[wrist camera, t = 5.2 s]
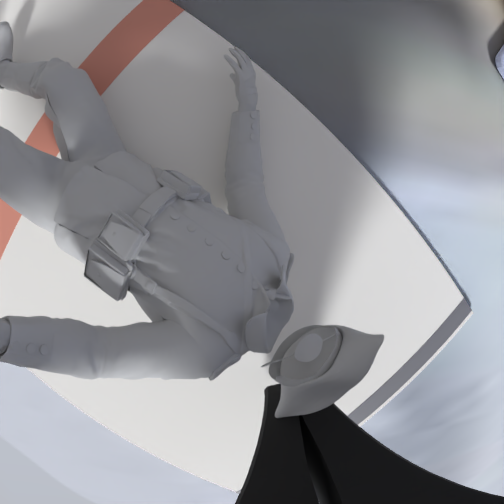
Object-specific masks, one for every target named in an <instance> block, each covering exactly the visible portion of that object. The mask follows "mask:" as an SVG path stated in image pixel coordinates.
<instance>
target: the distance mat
mask: <svg viewBox="0 0 504 504" xmlns="http://www.w3.org/2000/svg"><path fill="white" fill-rule="evenodd" d="M4 21H7V22H8V23H9V25H10V27H11V29H12V33H13V53H12V60H13V62H17V63H31V62H41V61H50V60H51V59H52V58H59V59H60V60H63V61H64V62H69V63H70V65H71V66H72V67H73V68H79V69H83V70H85V71H86V73H87V74H88V76H89V77H90V79H91V81H92V83H93V85H94V86H95V88H96V90H97V92H98V93H99V95H100V97H101V98H102V100H103V102H104V103H105V105H106V107H107V110H108V113H109V116H110V118H111V121H112V123H113V125H114V127H115V129H116V132H117V133H118V135H119V137H120V139H121V141H122V143H123V145H124V147H125V149H126V151H127V152H129V153H131V154H133V155H135V156H137V157H138V158H139V159H140V160H141V161H143V162H145V163H148V164H150V165H151V167H152V168H160V169H161V170H173V171H178V172H179V173H182V174H183V175H185V176H186V177H188V178H190V179H192V180H193V181H195V182H197V183H198V184H200V185H201V186H202V188H203V189H205V190H206V191H208V192H209V193H210V198H211V203H212V205H214V206H215V207H216V208H217V207H219V208H221V209H222V210H223V211H224V212H225V213H226V214H228V215H229V213H228V210H227V206H228V201H227V198H226V196H225V186H226V184H227V182H226V179H225V171H226V168H225V161H226V152H227V149H228V141H229V131H230V123H231V116H232V113H233V112H235V111H237V110H238V104H239V102H238V100H237V97H236V93H235V84H234V82H233V80H232V79H231V77H230V74H231V73H233V74H235V72H234V70H233V68H232V67H231V65H230V64H229V63H228V62H227V61H226V59H225V58H224V54H226V55H228V56H229V57H231V58H232V59H233V60H234V61H235V62H236V63H237V64H238V61H237V59H236V58H235V57H234V56H233V55H232V54H231V53H230V51H229V48H232V49H234V46H233V45H232V44H231V43H229V42H228V41H227V40H225V39H224V38H223V37H221V36H220V35H219V34H217V33H216V32H215V31H213V30H212V29H211V28H209V27H208V26H206V25H205V24H204V23H202V22H201V21H199V20H198V19H196V18H195V17H194V16H192V15H191V14H189V13H188V12H186V11H185V10H184V9H182V8H181V7H179V6H178V5H176V4H174V3H173V2H171V1H170V0H0V22H4ZM250 60H251V59H250ZM251 63H252V65H253V69H254V71H255V72H256V80H255V86H256V88H257V93H258V100H257V105H256V110H259V111H260V147H261V158H262V170H263V172H262V173H263V175H264V181H263V185H264V188H265V195H266V199H267V201H268V204H269V206H270V208H271V210H272V212H273V213H274V215H275V217H276V219H277V222H278V223H279V225H280V227H281V230H282V232H283V235H284V238H285V241H286V242H287V244H288V246H289V249H290V253H293V254H294V262H293V264H292V267H291V269H290V272H289V277H288V281H287V287H288V288H289V290H290V291H291V294H292V297H293V301H294V311H293V313H292V315H291V317H290V320H289V322H288V323H287V324H286V325H285V326H284V327H283V329H282V330H281V332H280V334H279V336H278V338H277V340H276V342H275V344H274V346H273V348H272V351H271V352H270V353H268V354H266V353H254V352H252V351H248V352H247V353H245V354H244V355H242V356H241V359H240V360H239V361H238V362H237V363H235V364H233V365H231V366H229V367H228V368H227V369H225V370H224V371H223V372H222V373H221V374H220V375H219V376H218V377H216V378H215V379H214V380H212V381H210V380H209V378H199V379H169V380H163V379H161V378H143V379H136V380H130V379H122V378H105V379H103V378H97V379H93V380H90V379H82V378H77V377H73V376H71V375H65V374H58V373H53V372H47V371H42V370H38V369H34V368H27V367H26V368H27V369H28V370H29V371H30V372H32V373H33V374H34V375H35V376H36V377H38V378H39V379H40V380H41V381H42V382H44V383H45V384H46V385H47V386H49V387H50V388H51V389H52V390H54V391H55V392H56V393H57V394H59V395H60V396H61V397H63V398H64V399H65V400H67V401H68V402H69V403H71V404H72V405H73V406H75V407H76V408H78V409H79V410H80V411H82V412H83V413H85V414H86V415H88V416H89V417H91V418H92V419H94V420H95V421H97V422H98V423H100V424H101V425H103V426H104V427H106V428H107V429H109V430H110V431H112V432H114V433H115V434H117V435H119V436H120V437H122V438H123V439H125V440H127V441H129V442H130V443H132V444H134V445H135V446H137V447H139V448H141V449H143V450H144V451H146V452H148V453H150V454H152V455H154V456H156V457H157V458H159V459H161V460H163V461H165V462H167V463H169V464H171V465H173V466H175V467H177V468H179V469H181V470H184V471H186V472H188V473H190V474H192V475H195V476H197V477H199V478H201V479H204V480H206V481H208V482H211V483H213V484H216V485H218V486H221V487H223V488H226V489H228V490H231V491H233V492H236V493H238V494H240V492H241V489H242V487H243V484H244V482H245V479H246V477H247V474H248V471H249V468H250V465H251V462H252V459H253V456H254V453H255V449H256V446H257V442H258V437H259V433H260V429H261V424H262V418H263V411H264V398H265V395H264V390H265V388H266V387H267V386H270V385H275V384H280V383H278V382H276V381H275V380H274V379H272V378H271V376H270V374H269V366H270V364H269V365H267V366H265V367H261V366H262V365H264V364H266V363H268V362H271V360H272V358H273V356H274V354H275V353H276V351H277V349H278V348H279V346H280V345H281V343H282V342H283V341H284V340H285V339H286V338H287V337H288V336H290V335H291V334H292V333H294V332H295V331H297V330H298V329H301V328H303V327H306V326H311V325H323V326H325V325H341V326H346V327H349V328H352V329H355V330H358V331H361V332H364V333H367V334H383V335H384V341H383V343H382V345H381V347H380V348H379V350H378V352H377V354H376V357H375V359H374V362H373V364H372V366H371V368H370V370H369V371H368V373H367V374H366V376H365V377H364V378H363V379H362V380H361V381H360V382H359V383H358V384H357V385H356V386H354V387H353V388H352V389H350V390H349V391H348V392H347V393H346V394H345V395H343V396H342V397H341V398H340V399H339V400H337V401H336V402H335V403H334V404H335V405H336V406H337V407H338V408H339V409H340V410H341V411H342V412H344V413H345V414H346V415H347V416H348V417H349V418H350V419H351V420H352V421H354V422H355V423H356V424H357V425H358V426H359V427H360V426H362V425H363V424H364V423H365V422H366V421H368V420H369V419H370V418H371V417H372V416H374V415H375V414H376V413H377V412H378V411H379V410H381V409H382V408H383V407H384V406H385V405H386V404H387V403H389V402H390V401H391V400H392V399H393V398H394V397H395V396H396V395H397V394H398V393H400V392H401V391H402V390H403V389H404V388H405V387H406V386H407V385H408V384H409V383H410V382H411V381H412V380H413V379H414V378H415V377H416V376H417V375H418V374H419V373H420V372H421V371H422V370H423V369H424V368H425V367H426V366H427V365H428V364H429V363H430V362H431V361H432V360H433V359H434V358H435V357H436V356H437V355H438V354H439V352H440V351H441V350H442V349H443V348H444V347H445V346H446V345H447V344H448V343H449V341H450V340H451V339H452V338H453V337H454V336H455V335H456V333H457V332H458V331H459V330H460V329H461V328H462V326H463V325H464V324H465V323H466V322H467V320H468V319H469V318H470V317H471V315H472V314H473V311H472V309H471V308H470V306H469V305H468V303H467V301H466V300H465V298H464V297H463V295H462V294H461V292H460V291H459V289H458V288H457V286H456V285H455V283H454V282H453V280H452V279H451V277H450V276H449V274H448V273H447V271H446V270H445V269H444V267H443V266H442V264H441V263H440V261H439V260H438V259H437V257H436V256H435V254H434V253H433V252H432V250H431V249H430V247H429V246H428V245H427V243H426V242H425V241H424V239H423V238H422V237H421V235H420V234H419V233H418V231H417V230H416V229H415V228H414V226H413V225H412V224H411V222H410V221H409V220H408V219H407V217H406V216H405V215H404V214H403V212H402V211H401V210H400V209H399V207H398V206H397V205H396V204H395V203H394V201H393V200H392V199H391V198H390V196H389V195H388V194H387V193H386V192H385V191H384V189H383V188H382V187H381V186H380V185H379V184H378V182H377V181H376V180H375V179H374V178H373V177H372V176H371V174H370V173H369V172H368V171H367V170H366V169H365V168H364V167H363V165H362V164H361V163H360V162H359V161H358V160H357V159H356V158H355V157H354V156H353V155H352V154H351V152H350V151H349V150H348V149H347V148H346V147H345V146H344V145H343V144H342V143H341V142H340V141H339V140H338V139H337V138H336V137H335V136H334V135H333V134H332V133H331V132H330V131H329V130H328V129H327V128H326V127H325V126H324V125H323V124H322V123H321V122H320V121H319V120H318V119H317V118H316V117H315V116H314V115H313V114H312V113H311V112H310V111H309V110H308V109H307V108H306V107H305V106H304V105H302V104H301V103H300V102H299V101H298V100H297V99H296V98H295V97H294V96H293V95H292V94H290V93H289V92H288V91H287V90H286V89H285V88H284V87H283V86H282V85H280V84H279V83H278V82H277V81H276V80H275V79H274V78H272V77H271V76H270V75H269V74H268V73H267V72H265V71H264V70H263V69H262V68H261V67H259V66H258V65H257V64H256V63H255V62H253V61H252V60H251ZM238 66H239V65H238ZM45 104H46V100H45V99H43V98H42V99H35V98H33V97H31V96H28V95H25V94H22V93H20V92H14V91H9V90H7V89H5V88H4V89H0V126H1V127H4V128H5V129H7V130H9V131H10V132H12V133H13V134H14V135H15V136H17V137H18V138H19V139H20V140H21V141H23V142H24V143H25V144H26V145H30V146H32V147H34V148H36V149H38V150H40V151H43V152H45V153H48V154H50V155H53V156H55V157H58V158H60V159H61V154H60V151H59V148H58V146H57V143H56V140H55V136H54V133H53V121H51V120H50V119H49V118H48V117H47V115H46V114H45ZM84 270H85V264H83V263H82V262H80V261H79V260H77V259H76V258H74V257H72V256H71V255H69V254H67V253H66V252H64V251H63V250H61V249H60V248H59V247H58V245H57V244H56V242H55V239H54V234H53V233H51V232H49V231H47V230H45V229H43V228H41V227H39V226H37V225H36V224H34V223H33V222H31V221H30V220H28V219H27V218H26V217H24V216H23V215H22V214H20V213H19V212H17V211H16V210H15V209H13V208H12V207H11V206H9V205H8V204H7V203H6V202H4V201H3V200H2V199H1V198H0V318H2V317H4V316H25V317H32V316H47V317H50V318H60V319H63V318H72V319H74V320H80V321H83V322H85V323H87V324H90V325H94V326H96V325H101V326H104V327H111V326H116V327H120V326H126V325H130V324H134V323H138V322H149V323H150V322H152V321H151V320H150V318H149V317H148V316H147V315H146V314H145V312H144V311H143V310H142V308H141V307H140V305H139V304H138V302H137V301H136V299H135V297H134V296H133V294H131V293H130V292H129V291H127V294H126V297H125V298H124V299H123V300H119V301H116V300H115V299H113V298H112V297H110V296H109V295H108V294H106V293H105V292H104V291H102V290H101V289H100V288H98V287H97V286H96V285H94V284H93V283H92V282H90V281H89V280H88V279H87V278H85V277H84Z"/></svg>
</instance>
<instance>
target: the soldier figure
mask: <svg viewBox="0 0 504 504" xmlns="http://www.w3.org/2000/svg"><path fill="white" fill-rule="evenodd" d="M229 51H230V53H231V54H232V55H233V56H234V57H235V58H236V59H237V61H238V64H237V63H236V62H235V61H234V60H233V59H232V58H231V57H229V56H228V55H226V54H224V58H225V59H226V61H227V62H228V63H229V64H230V65H231V67H232V68H233V70H234V72H235V74H233V73H231V74H230V77H231V79H232V80H233V82H234V84H235V93H236V97H237V100H238V102H239V104H238V110H237V111H235V112H233V113H232V116H231V123H230V131H229V141H228V149H227V152H226V161H225V168H226V171H225V179H226V182H227V184H226V186H225V196H226V198H227V201H228V206H227V210H228V213H229V215H228V214H226V213H225V212H224V211H223V210H222V209H221V208H219V207H217V208H216V207H215V206H214V205H212V203H211V198H210V193H209V192H208V191H206V190H205V189H203V188H202V186H201V185H200V184H198V183H197V182H195V181H193V180H192V179H190V178H188V177H186V176H185V175H183V174H182V173H179V172H178V171H173V170H161V169H160V168H152V167H151V165H150V164H148V163H145V162H143V161H141V160H140V159H139V158H138V157H137V156H135V155H133V154H131V153H129V152H127V151H126V149H125V147H124V145H123V143H122V141H121V139H120V137H119V135H118V133H117V132H116V129H115V127H114V125H113V123H112V121H111V118H110V116H109V113H108V110H107V107H106V105H105V103H104V102H103V100H102V98H101V97H100V95H99V93H98V92H97V90H96V88H95V86H94V85H93V83H92V81H91V79H90V77H89V76H88V74H87V73H86V71H85V70H83V69H79V68H73V67H72V66H71V65H70V63H69V62H64V61H63V60H60V59H59V58H52V59H51V60H50V61H41V62H31V63H17V62H13V60H12V53H13V33H12V29H11V27H10V25H9V23H8V22H7V21H4V22H0V89H4V88H5V89H7V90H9V91H14V92H20V93H22V94H25V95H28V96H31V97H33V98H35V99H42V98H43V99H45V100H46V104H45V114H46V115H47V117H48V118H49V119H50V120H51V121H53V133H54V136H55V140H56V143H57V146H58V148H59V151H60V154H61V159H60V158H58V157H55V156H53V155H50V154H48V153H45V152H43V151H40V150H38V149H36V148H34V147H32V146H30V145H26V144H25V143H24V142H23V141H21V140H20V139H19V138H18V137H17V136H15V135H14V134H13V133H12V132H10V131H9V130H7V129H5V128H4V127H1V126H0V198H1V199H2V200H3V201H4V202H6V203H7V204H8V205H9V206H11V207H12V208H13V209H15V210H16V211H17V212H19V213H20V214H22V215H23V216H24V217H26V218H27V219H28V220H30V221H31V222H33V223H34V224H36V225H37V226H39V227H41V228H43V229H45V230H47V231H49V232H51V233H53V234H54V239H55V242H56V244H57V245H58V247H59V248H60V249H61V250H63V251H64V252H66V253H67V254H69V255H71V256H72V257H74V258H76V259H77V260H79V261H80V262H82V263H83V264H85V270H84V277H85V278H87V279H88V280H89V281H90V282H92V283H93V284H94V285H96V286H97V287H98V288H100V289H101V290H102V291H104V292H105V293H106V294H108V295H109V296H110V297H112V298H113V299H115V300H116V301H119V300H123V299H124V298H125V297H126V294H127V291H129V292H130V293H131V294H133V296H134V297H135V299H136V301H137V302H138V304H139V305H140V307H141V308H142V310H143V311H144V312H145V314H146V315H147V316H148V317H149V318H150V320H151V321H152V322H150V323H149V322H138V323H134V324H130V325H126V326H120V327H116V326H111V327H104V326H101V325H96V326H94V325H90V324H87V323H85V322H83V321H80V320H74V319H72V318H63V319H60V318H50V317H47V316H32V317H25V316H4V317H2V318H0V361H1V362H6V363H10V364H13V365H17V366H20V367H27V368H34V369H38V370H42V371H47V372H53V373H58V374H65V375H71V376H73V377H77V378H82V379H90V380H93V379H97V378H103V379H105V378H122V379H130V380H136V379H143V378H161V379H163V380H169V379H199V378H209V380H210V381H212V380H214V379H215V378H216V377H218V376H219V375H220V374H221V373H222V372H223V371H224V370H225V369H227V368H228V367H229V366H231V365H233V364H235V363H237V362H238V361H239V360H240V359H241V356H242V355H244V354H245V353H247V352H248V351H252V352H254V353H266V354H268V353H270V352H271V351H272V348H273V346H274V344H275V342H276V340H277V338H278V336H279V334H280V332H281V330H282V329H283V327H284V326H285V325H286V324H287V323H288V322H289V320H290V317H291V315H292V313H293V311H294V301H293V297H292V294H291V291H290V290H289V288H288V287H287V281H288V277H289V272H290V269H291V267H292V264H293V262H294V254H293V253H290V249H289V246H288V244H287V242H286V241H285V238H284V235H283V232H282V230H281V227H280V225H279V223H278V222H277V219H276V217H275V215H274V213H273V212H272V210H271V208H270V206H269V204H268V201H267V199H266V195H265V188H264V185H263V181H264V175H263V173H262V172H263V170H262V158H261V147H260V111H259V110H256V105H257V100H258V93H257V88H256V86H255V80H256V72H255V71H254V69H253V65H252V63H251V60H250V58H249V57H248V55H247V54H246V53H245V52H243V51H242V50H240V49H239V48H238V47H235V46H234V49H232V48H229ZM238 65H239V66H238ZM383 341H384V335H383V334H367V333H364V332H361V331H358V330H355V329H352V328H349V327H346V326H341V325H325V326H323V325H311V326H306V327H303V328H301V329H298V330H297V331H295V332H294V333H292V334H291V335H290V336H288V337H287V338H286V339H285V340H284V341H283V342H282V343H281V345H280V346H279V348H278V349H277V351H276V353H275V354H274V356H273V358H272V360H271V362H268V363H266V364H264V365H262V366H261V367H265V366H267V365H269V364H270V366H269V374H270V376H271V378H272V379H274V380H275V381H276V382H278V383H280V384H281V397H280V401H279V404H278V407H277V409H276V412H275V417H276V418H282V417H288V416H298V415H306V414H310V413H314V412H317V411H319V410H322V409H324V408H326V407H328V406H330V405H332V404H333V403H335V402H336V401H337V400H339V399H340V398H341V397H342V396H343V395H345V394H346V393H347V392H348V391H349V390H350V389H352V388H353V387H354V386H356V385H357V384H358V383H359V382H360V381H361V380H362V379H363V378H364V377H365V376H366V374H367V373H368V371H369V370H370V368H371V366H372V364H373V362H374V359H375V357H376V354H377V352H378V350H379V348H380V347H381V345H382V343H383Z"/></svg>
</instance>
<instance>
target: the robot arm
mask: <svg viewBox="0 0 504 504" xmlns="http://www.w3.org/2000/svg"><path fill="white" fill-rule="evenodd" d="M495 61H496V66H497V69H498V71H499V72H500V74H501V76H502V77H503V79H504V45H503V46H502V48H501V49H500V51H499V52H498V53H497V55H496V58H495ZM264 395H265V398H264V411H263V418H262V424H261V429H260V433H259V437H258V442H257V446H256V449H255V453H254V456H253V459H252V462H251V465H250V468H249V471H248V474H247V477H246V479H245V482H244V484H243V487H242V489H241V492H240V494H239V496H238V498H237V500H236V503H235V504H319V503H320V504H504V497H502V496H498V495H493V494H489V493H485V492H482V491H478V490H475V489H472V488H468V487H465V486H463V485H460V484H457V483H455V482H452V481H450V480H447V479H445V478H443V477H440V476H438V475H435V474H433V473H431V472H429V471H427V470H425V469H423V468H421V467H419V466H417V465H415V464H413V463H411V462H410V461H408V460H406V459H405V458H403V457H401V456H400V455H398V454H396V453H395V452H393V451H392V450H390V449H389V448H387V447H386V446H384V445H383V444H381V443H380V442H379V441H377V440H376V439H375V438H373V437H372V436H371V435H369V434H368V433H367V432H365V431H364V430H363V429H362V428H361V427H359V426H358V425H357V424H356V423H355V422H354V421H352V420H351V419H350V418H349V417H348V416H347V415H346V414H345V413H344V412H342V411H341V410H340V409H339V408H338V407H337V406H336V405H335V404H334V403H333V404H332V405H330V406H328V407H326V408H324V409H322V410H319V411H317V412H314V413H310V414H306V415H298V416H288V417H282V418H276V417H275V412H276V409H277V407H278V404H279V401H280V397H281V384H275V385H270V386H267V387H266V388H265V390H264ZM318 500H319V501H318Z"/></svg>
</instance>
